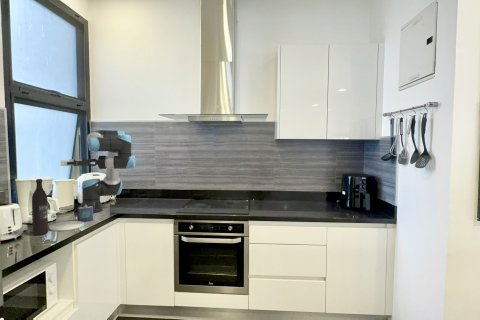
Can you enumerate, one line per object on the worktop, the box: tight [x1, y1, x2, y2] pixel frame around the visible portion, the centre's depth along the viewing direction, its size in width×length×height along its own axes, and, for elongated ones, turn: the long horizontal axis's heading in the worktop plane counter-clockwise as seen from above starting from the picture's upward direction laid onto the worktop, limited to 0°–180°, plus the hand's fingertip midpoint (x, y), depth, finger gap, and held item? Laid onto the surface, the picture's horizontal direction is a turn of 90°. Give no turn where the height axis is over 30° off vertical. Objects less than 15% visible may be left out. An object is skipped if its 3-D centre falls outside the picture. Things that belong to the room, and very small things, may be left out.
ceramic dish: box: [48, 220, 85, 232], centre depth 181 cm, size 18×18×1 cm
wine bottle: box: [31, 178, 49, 236], centre depth 166 cm, size 7×7×30 cm
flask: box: [76, 205, 94, 223], centre depth 194 cm, size 9×3×11 cm, turn 135°
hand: (65, 162), depth 168 cm, fingers open, 13 cm apart
